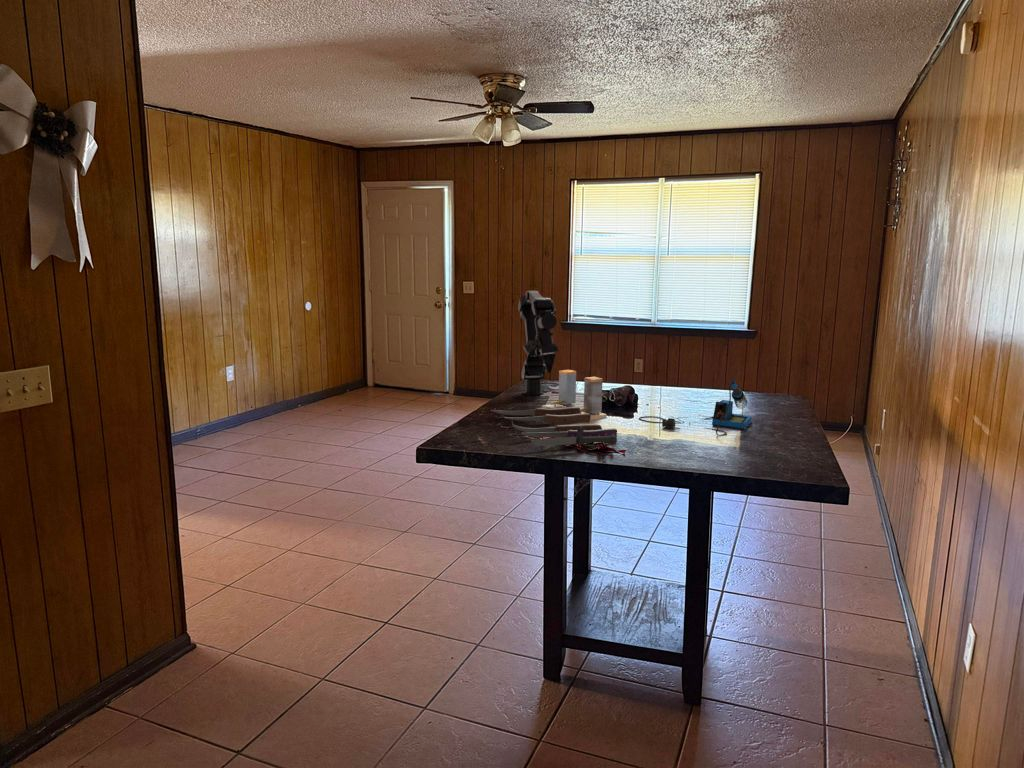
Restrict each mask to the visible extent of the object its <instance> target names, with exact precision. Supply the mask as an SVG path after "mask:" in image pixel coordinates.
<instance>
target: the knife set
mask: <svg viewBox="0 0 1024 768" xmlns="http://www.w3.org/2000/svg"><path fill="white" fill-rule="evenodd" d="M491 411H492V412H493V413H496V414H501V415H506V416H503V418H504V419H507V420H511V425H512V427H513V429H515V430H519V431H521V435H523V436H527V437H534V438H536V437H537V438H538V437H539V439H530V442H531V443H533V444H535V446H537V447H538V446H539V447H549V446H550V447H551V446H561V445H562V446H564V445H565V446H566V445H576V444H578V446H579V447H580V446H581V445H582V444H584V443H591V442H604V443H608V444H609V445H616V444H617V442H618V438H617V435H618V430H617V429H616V428H602V425H600V424H597V423H595V424H594V423H593V424H592V423H591V420H590V418H591V416H590V414H589V413H582V414H579V413H580V408H579V407H567V408H557V409H544V408H541V407H535V408H534V409H524V410H523V409H521V410H520V409H519V410H498V409H497V410H496V409H491ZM507 415H508V416H510V417H508V416H507ZM528 415H529V416H528ZM511 416H514V417H511ZM515 416H516V417H515ZM517 416H525V417H517ZM513 421H524V422H525V421H540V422H541V423H544V424H545V425H554V426H550V427H523V426H519V425H516V424H514V422H513ZM546 437H555V438H546ZM608 444H607V445H608ZM582 446H583V445H582Z"/></svg>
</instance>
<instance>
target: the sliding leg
mask: <svg viewBox="0 0 1024 768" xmlns="http://www.w3.org/2000/svg"><path fill="white" fill-rule="evenodd" d="M558 373H559V374H558V400H557V401H551V402H550V403H549V404H550V405H554V406H556V404H561V403H562V404H566V405H567V404H573V405H575V404H576V402H577V401H576V397H577V394H576V393H577V392H576V391H577V371H576V370H573V369H563V370H559V372H558Z"/></svg>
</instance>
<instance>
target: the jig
mask: <svg viewBox="0 0 1024 768" xmlns="http://www.w3.org/2000/svg"><path fill="white" fill-rule="evenodd" d="M603 381H604V380H603V378H602V377H597V376H590V377H589V376H588V377H584V382H583V383H584V386H583V389H584V390H583V406H580V405H575V404H573V405H572V404H567V405H566V404H562V403H561V404H559V405H563V406H566V407H579V408H580V413H579V414H582V413H589V414H590V416H591V418H590V421H596V420H600V419H606V418H607V414H606V413H603V412H602V406H603V405H602V404H603ZM540 408H544V409H557V408H562V407H559V406H557V404H556V406H554V405H550V403H549V404H543V405H541V407H540Z"/></svg>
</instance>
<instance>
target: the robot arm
mask: <svg viewBox="0 0 1024 768" xmlns="http://www.w3.org/2000/svg"><path fill="white" fill-rule="evenodd" d="M517 304H518V305H517V309H518V312H519V317H520V319H521V320H522V321H523V323H524V331H525V333H524V334H525V342H526V343H525V345H523V346H522V348H523V350H524V352H525V354H526V355H527V356H526V358H525V360H524V362H523V365H522V369H521V379H522V380H524V391H521V394H524V395H528V396H536V395H537V396H539V395H544V392H543V391H542V389H541V386H542V383H541V382H542V381H541V380H545V379H546V378H545V377H546V372H547V373H548V374H551V373H552V370H553V365H554V362H555V359H556V354H557V352H559V346H558V345H557V344H555V343H554V340H553V336H554V333H553V331H552V329H554V328H555V327H556V325H557V322H558V321H557V318H556V317H555V315H556V312H557V309H556V305H555V304H554V302H553V300H552V299H551V298H550V297H543V296H542V295H541V294H540V291H538V290H527V291H525V294H524V295H523V296H522V297H520V298H519V300H518V303H517ZM555 352H556V353H555Z"/></svg>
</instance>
